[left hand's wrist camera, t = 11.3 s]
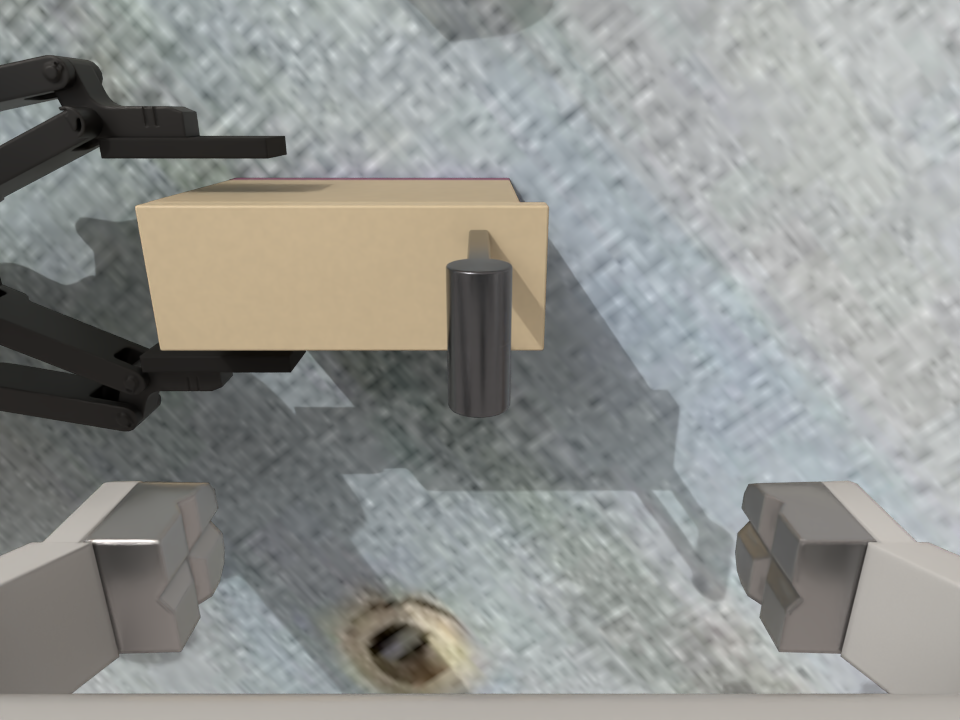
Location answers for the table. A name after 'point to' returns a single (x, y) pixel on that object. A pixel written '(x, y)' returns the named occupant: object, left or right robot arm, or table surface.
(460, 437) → the table surface
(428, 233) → the lid
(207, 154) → the right robot arm
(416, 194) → the chest
